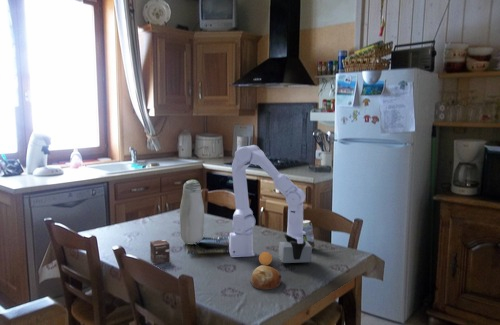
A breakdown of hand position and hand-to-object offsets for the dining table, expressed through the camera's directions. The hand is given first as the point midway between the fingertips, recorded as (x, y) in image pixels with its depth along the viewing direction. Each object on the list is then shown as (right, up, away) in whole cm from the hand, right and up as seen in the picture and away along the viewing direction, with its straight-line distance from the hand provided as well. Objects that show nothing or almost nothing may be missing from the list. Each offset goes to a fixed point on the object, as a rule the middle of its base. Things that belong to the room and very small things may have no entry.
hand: (294, 255), depth 155 cm
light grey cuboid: (0, -1, 0) cm, 1 cm away
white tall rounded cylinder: (-42, 0, +21) cm, 47 cm away
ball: (-11, -1, -2) cm, 11 cm away
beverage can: (+7, -1, +17) cm, 18 cm away
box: (-51, -2, +1) cm, 52 cm away
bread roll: (-12, -6, -18) cm, 22 cm away
